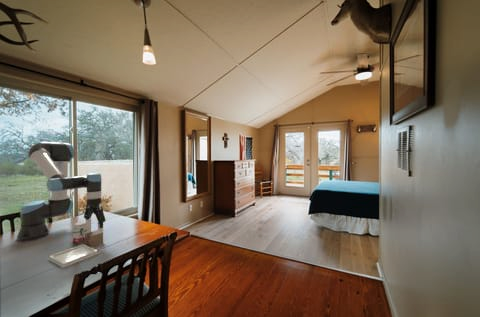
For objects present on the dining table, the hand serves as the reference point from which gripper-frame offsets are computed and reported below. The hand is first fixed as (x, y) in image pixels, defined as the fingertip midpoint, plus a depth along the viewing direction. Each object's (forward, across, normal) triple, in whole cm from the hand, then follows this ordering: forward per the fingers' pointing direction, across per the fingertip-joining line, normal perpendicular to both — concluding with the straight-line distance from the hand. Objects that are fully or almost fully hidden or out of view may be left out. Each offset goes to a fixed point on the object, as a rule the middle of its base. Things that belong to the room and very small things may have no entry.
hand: (94, 231), depth 126 cm
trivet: (+8, +8, -14) cm, 18 cm away
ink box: (+8, -13, -1) cm, 15 cm away
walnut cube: (+8, 0, 0) cm, 8 cm away
